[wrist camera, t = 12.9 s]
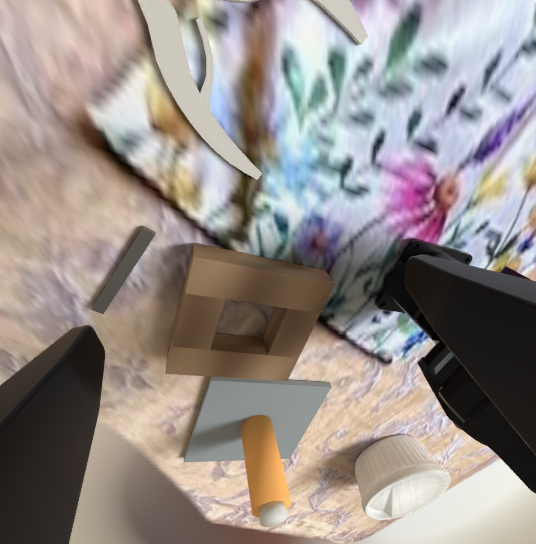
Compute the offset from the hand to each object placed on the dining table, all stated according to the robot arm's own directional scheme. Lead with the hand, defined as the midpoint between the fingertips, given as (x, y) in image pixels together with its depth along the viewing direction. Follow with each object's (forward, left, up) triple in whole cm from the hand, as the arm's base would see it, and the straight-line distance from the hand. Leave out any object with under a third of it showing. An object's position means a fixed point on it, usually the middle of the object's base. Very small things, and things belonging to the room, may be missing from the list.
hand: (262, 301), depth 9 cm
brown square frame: (-4, +9, -12) cm, 15 cm away
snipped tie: (+5, +7, -12) cm, 15 cm away
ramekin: (-30, +29, -12) cm, 43 cm away
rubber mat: (-9, +22, -12) cm, 27 cm away
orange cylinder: (-9, +22, -11) cm, 26 cm away
